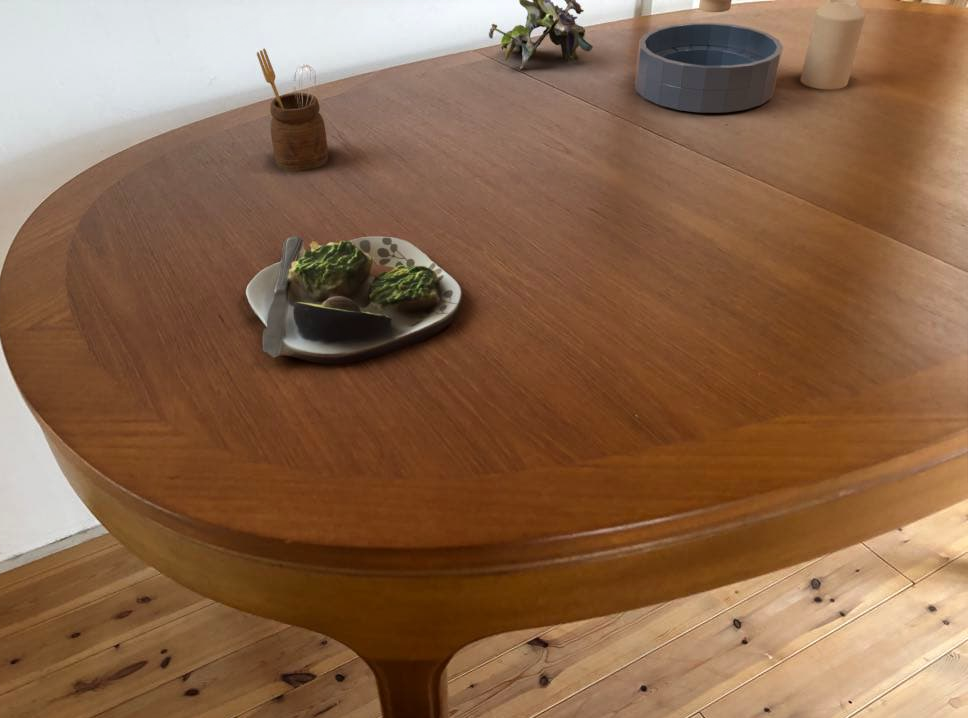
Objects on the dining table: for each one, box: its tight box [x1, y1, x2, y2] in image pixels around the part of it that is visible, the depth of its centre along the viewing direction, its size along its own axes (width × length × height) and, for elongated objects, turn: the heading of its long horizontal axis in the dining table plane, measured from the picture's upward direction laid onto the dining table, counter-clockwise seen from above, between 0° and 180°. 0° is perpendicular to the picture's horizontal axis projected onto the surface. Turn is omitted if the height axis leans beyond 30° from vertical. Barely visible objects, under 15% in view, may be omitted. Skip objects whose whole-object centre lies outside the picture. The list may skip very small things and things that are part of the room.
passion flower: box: [488, 0, 594, 71], centre depth 117 cm, size 11×11×12 cm
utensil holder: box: [256, 47, 329, 172], centre depth 95 cm, size 6×6×12 cm
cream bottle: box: [800, 0, 866, 90], centre depth 107 cm, size 6×6×10 cm
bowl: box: [634, 22, 784, 114], centre depth 108 cm, size 16×16×6 cm
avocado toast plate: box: [245, 235, 463, 365], centre depth 75 cm, size 19×18×5 cm
